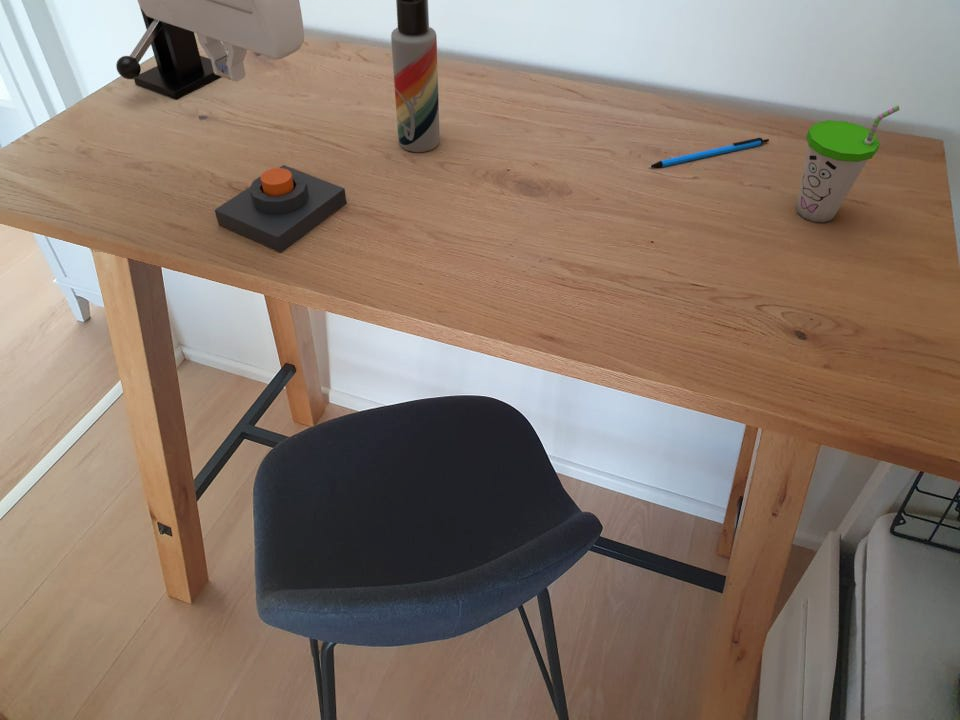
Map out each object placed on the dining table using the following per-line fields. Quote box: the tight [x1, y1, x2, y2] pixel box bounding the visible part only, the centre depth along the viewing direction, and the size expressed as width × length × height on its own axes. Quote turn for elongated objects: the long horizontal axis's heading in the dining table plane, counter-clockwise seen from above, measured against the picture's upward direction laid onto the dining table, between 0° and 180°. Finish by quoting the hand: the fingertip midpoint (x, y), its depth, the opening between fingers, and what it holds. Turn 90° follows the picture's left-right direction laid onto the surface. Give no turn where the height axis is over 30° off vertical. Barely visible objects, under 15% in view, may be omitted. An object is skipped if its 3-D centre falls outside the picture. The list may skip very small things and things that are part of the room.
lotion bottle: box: [390, 0, 440, 153], centre depth 99 cm, size 6×6×20 cm
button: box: [260, 167, 294, 196], centre depth 91 cm, size 4×4×2 cm
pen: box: [649, 137, 770, 168], centre depth 104 cm, size 1×19×1 cm, turn 112°
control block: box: [214, 164, 348, 253], centre depth 92 cm, size 12×10×4 cm
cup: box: [795, 105, 900, 224], centre depth 90 cm, size 8×8×15 cm
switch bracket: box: [133, 4, 221, 100], centre depth 115 cm, size 11×9×12 cm
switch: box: [115, 19, 163, 81], centre depth 111 cm, size 13×3×3 cm
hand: (230, 76), depth 82 cm, fingers closed
